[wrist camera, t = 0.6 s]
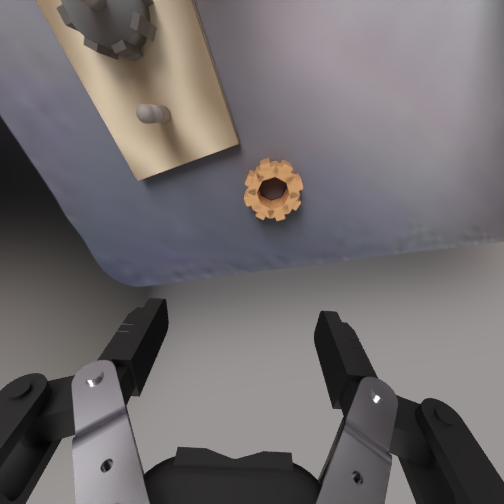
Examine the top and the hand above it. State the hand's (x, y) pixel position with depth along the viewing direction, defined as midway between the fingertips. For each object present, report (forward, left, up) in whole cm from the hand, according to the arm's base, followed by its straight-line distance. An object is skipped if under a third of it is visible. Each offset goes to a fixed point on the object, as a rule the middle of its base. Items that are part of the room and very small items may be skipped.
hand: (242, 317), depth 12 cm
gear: (-2, -1, -19) cm, 19 cm away
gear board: (+6, -15, -19) cm, 25 cm away
